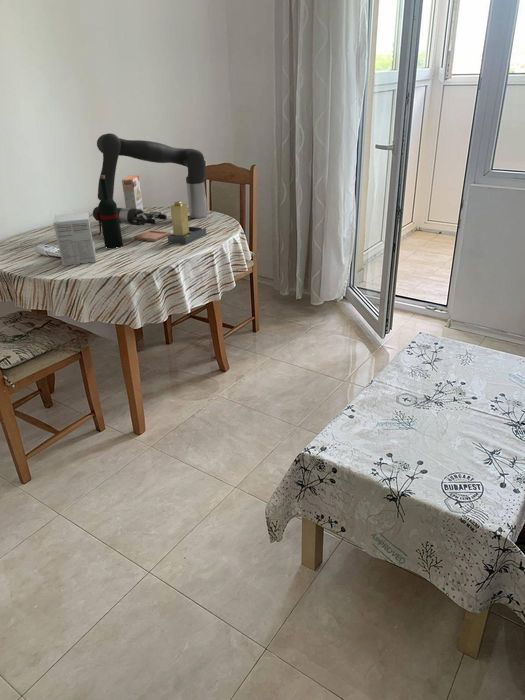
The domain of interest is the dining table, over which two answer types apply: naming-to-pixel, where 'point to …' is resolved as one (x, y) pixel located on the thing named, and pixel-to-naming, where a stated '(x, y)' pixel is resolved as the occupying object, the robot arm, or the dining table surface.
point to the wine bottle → (109, 219)
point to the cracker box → (132, 192)
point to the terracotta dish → (152, 235)
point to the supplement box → (75, 238)
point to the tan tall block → (179, 219)
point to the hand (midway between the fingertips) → (160, 219)
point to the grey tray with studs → (188, 236)
